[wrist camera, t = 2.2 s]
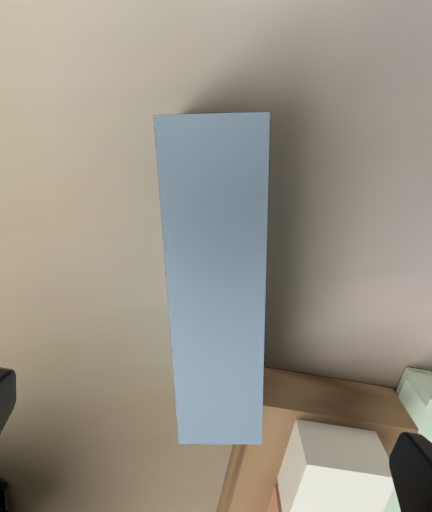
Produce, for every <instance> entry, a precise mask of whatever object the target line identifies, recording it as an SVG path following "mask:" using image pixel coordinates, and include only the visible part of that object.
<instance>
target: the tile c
mask: <svg viewBox="0 0 432 512" xmlns="http://www.w3.org/2000/svg"><path fill="white" fill-rule="evenodd" d="M277 480H278V487H279V494H280V501H281V508H282V512H383V510H384V508H385V506H386V504H387V502H388V500H389V497H390V495H391V493H392V491H393V489H394V483H393V480H392V476H391V472H390V468H389V458H388V456H387V453H386V451H385V449H384V447H383V445H382V443H381V441H380V439H379V437H378V435H377V433H376V432H375V431H369V430H363V429H356V428H350V427H343V426H337V425H331V424H324V423H318V422H312V421H305V420H299V419H296V421H295V424H294V427H293V430H292V433H291V436H290V439H289V443H288V446H287V449H286V452H285V455H284V458H283V461H282V464H281V468H280V471H279V474H278V477H277Z"/></svg>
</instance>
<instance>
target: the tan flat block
mask: <svg viewBox="0 0 432 512" xmlns="http://www.w3.org/2000/svg"><path fill="white" fill-rule="evenodd" d="M296 419H299V420H305V421H312V422H318V423H324V424H331V425H337V426H343V427H350V428H356V429H363V430H369V431H375V432H376V433H377V435H378V437H379V439H380V441H381V443H382V445H383V447H384V449H385V451H386V453H387V456H388V458H389V457H390V454H391V452H392V450H393V447H394V445H395V443H396V441H397V439H398V436H399V435H400V433H402V432H404V431H407V432H413V433H418V431H419V429H418V428H417V426H416V424H415V423H414V421H413V420H412V418H411V417H410V415H409V413H408V412H407V410H406V409H405V407H404V405H403V404H402V402H401V401H400V399H399V397H398V396H397V394H396V393H395V391H394V389H393V388H390V387H384V386H378V385H371V384H365V383H359V382H353V381H347V380H341V379H334V378H328V377H322V376H316V375H310V374H303V373H297V372H291V371H285V370H279V369H273V368H266V367H264V374H263V413H262V444H233V448H232V452H231V456H230V460H229V464H228V468H227V472H226V476H225V480H224V484H223V488H222V492H221V496H220V500H219V504H218V508H217V512H266V511H267V508H268V505H269V502H270V499H271V496H272V492H273V489H274V486H275V485H278V480H277V477H278V474H279V471H280V468H281V464H282V461H283V458H284V455H285V452H286V449H287V446H288V443H289V439H290V436H291V433H292V430H293V427H294V424H295V421H296Z"/></svg>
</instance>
